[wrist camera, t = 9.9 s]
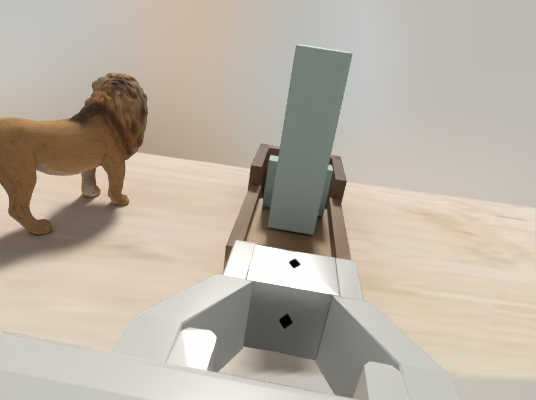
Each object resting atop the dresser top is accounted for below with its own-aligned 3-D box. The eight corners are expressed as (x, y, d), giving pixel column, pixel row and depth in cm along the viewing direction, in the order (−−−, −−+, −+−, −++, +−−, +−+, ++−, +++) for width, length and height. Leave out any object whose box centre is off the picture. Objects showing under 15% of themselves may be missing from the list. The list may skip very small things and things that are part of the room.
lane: (221, 283, 21) (226, 245, 20) (246, 213, 30) (250, 184, 29) (342, 305, 21) (352, 267, 20) (333, 228, 30) (340, 199, 29)
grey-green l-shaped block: (256, 225, 25) (283, 43, 20) (263, 199, 29) (287, 41, 24) (324, 236, 25) (365, 55, 20) (322, 209, 28) (356, 52, 24)
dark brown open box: (244, 213, 30) (251, 165, 28) (255, 185, 36) (261, 143, 34) (335, 228, 30) (346, 181, 28) (331, 197, 35) (340, 156, 34)
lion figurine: (114, 173, 34) (112, 66, 30) (164, 190, 32) (167, 78, 28) (-86, 242, 21) (-132, 72, 18) (-23, 276, 19) (-60, 95, 16)
